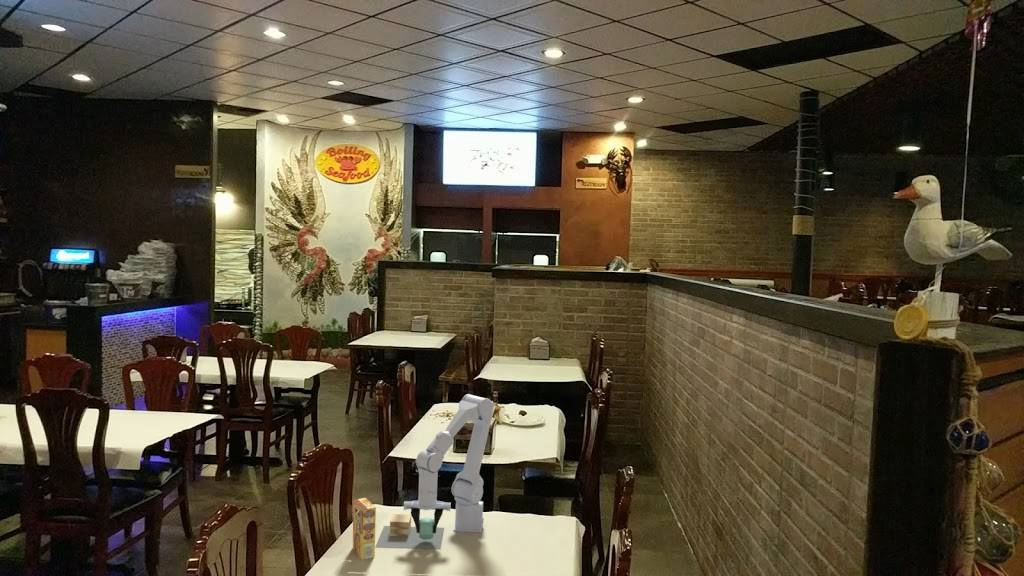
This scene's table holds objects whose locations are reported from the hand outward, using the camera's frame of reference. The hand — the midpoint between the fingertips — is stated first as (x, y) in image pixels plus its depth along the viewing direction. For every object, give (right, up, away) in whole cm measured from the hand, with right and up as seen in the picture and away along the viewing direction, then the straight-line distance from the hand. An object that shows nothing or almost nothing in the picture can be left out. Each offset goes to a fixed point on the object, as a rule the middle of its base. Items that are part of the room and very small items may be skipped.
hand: (426, 531), depth 200 cm
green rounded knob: (0, -1, 0) cm, 1 cm away
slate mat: (-5, -3, +3) cm, 7 cm away
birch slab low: (-9, -3, +7) cm, 12 cm away
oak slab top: (-9, 0, +7) cm, 11 cm away
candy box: (-18, -3, -8) cm, 20 cm away
